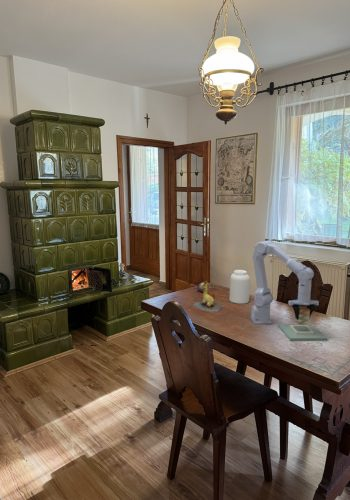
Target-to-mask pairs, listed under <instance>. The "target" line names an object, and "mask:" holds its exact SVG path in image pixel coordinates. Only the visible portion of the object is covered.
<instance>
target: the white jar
mask: <svg viewBox="0 0 350 500" xmlns="http://www.w3.org/2000/svg"><path fill="white" fill-rule="evenodd" d="M250 287H251V276H250V274H249V275H248V271H247V270H244V269H234V271H233V272H232V273H231V275H230V277H229V297H228V299H229V301H230V302H231V303H233V304H247V303H249V301H250V292H251V291H250Z"/></svg>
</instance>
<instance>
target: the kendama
mask: <svg viewBox="0 0 350 500" xmlns="http://www.w3.org/2000/svg"><path fill="white" fill-rule="evenodd" d="M200 284H201V283H198V284H197V291H199V292H200V293H203V292H204V289H202V290H200V288H199V287H200ZM207 294H208V295H210V296H211V297H213V299H215V298H216V294H215V293H213V292H210V291H207Z"/></svg>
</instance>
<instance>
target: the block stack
mask: <svg viewBox="0 0 350 500" xmlns="http://www.w3.org/2000/svg"><path fill="white" fill-rule="evenodd" d="M299 307H300V310H299V319H298V320H297V319H296V318H295V317H294V322H295V323H296V324H299V325H309V324H310V319H309V316H310V310H309V309H308V308H307V306H299ZM310 317H311V316H310Z"/></svg>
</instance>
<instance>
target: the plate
mask: <svg viewBox="0 0 350 500" xmlns="http://www.w3.org/2000/svg"><path fill="white" fill-rule="evenodd" d="M277 327H278V329H280V331H281V332H283V334H284V335H285V337H286V338H287V339H288V340H289V341H291V342H295V341H296V342H297V341H298V342H301V341H302V342H303V341H305V342H306V341H328V340H329V338H328V337H327V336H326V335H324V333H322V332H321V331H320V329H318V328H317V327H316V326H315V325H313V324H312V323H309V325H299V324H298V323H277Z"/></svg>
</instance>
